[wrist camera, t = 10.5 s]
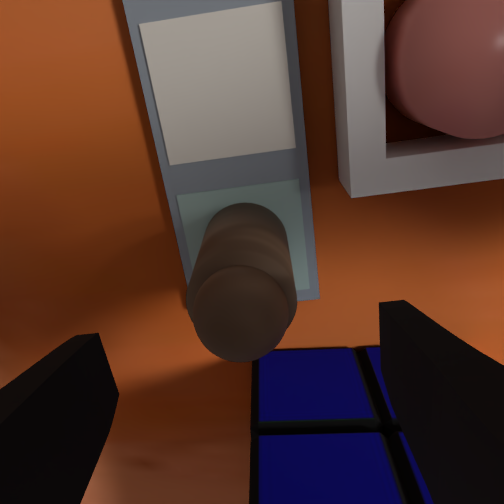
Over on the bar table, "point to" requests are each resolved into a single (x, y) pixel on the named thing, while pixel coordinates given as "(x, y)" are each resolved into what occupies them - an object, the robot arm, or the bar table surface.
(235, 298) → the pawn
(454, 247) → the bar table surface
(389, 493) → the puzzle cube
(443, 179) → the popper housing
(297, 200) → the board
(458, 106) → the button
